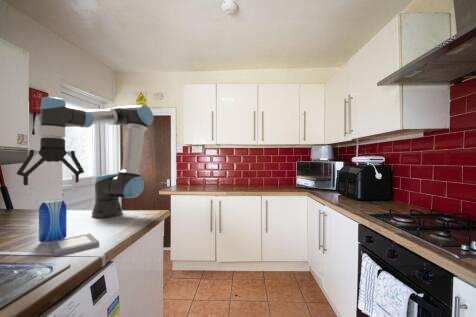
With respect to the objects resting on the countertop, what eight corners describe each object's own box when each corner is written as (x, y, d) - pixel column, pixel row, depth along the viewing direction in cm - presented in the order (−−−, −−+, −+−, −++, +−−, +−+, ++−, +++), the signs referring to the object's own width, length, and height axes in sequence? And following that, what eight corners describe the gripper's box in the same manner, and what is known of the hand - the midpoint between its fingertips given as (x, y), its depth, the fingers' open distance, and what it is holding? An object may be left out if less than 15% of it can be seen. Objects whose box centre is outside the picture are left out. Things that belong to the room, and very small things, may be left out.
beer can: (68, 241, 90) (68, 200, 90) (39, 247, 84) (40, 203, 84) (64, 236, 96) (64, 197, 96) (37, 241, 90) (37, 200, 90)
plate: (90, 237, 95) (90, 233, 95) (99, 245, 86) (99, 241, 86) (49, 245, 85) (49, 241, 85) (54, 256, 76) (54, 251, 76)
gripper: (88, 140, 101) (87, 188, 101) (7, 136, 83) (7, 194, 83) (92, 139, 96) (92, 190, 96) (7, 134, 78) (7, 197, 78)
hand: (52, 192), depth 89 cm, fingers open, 13 cm apart
